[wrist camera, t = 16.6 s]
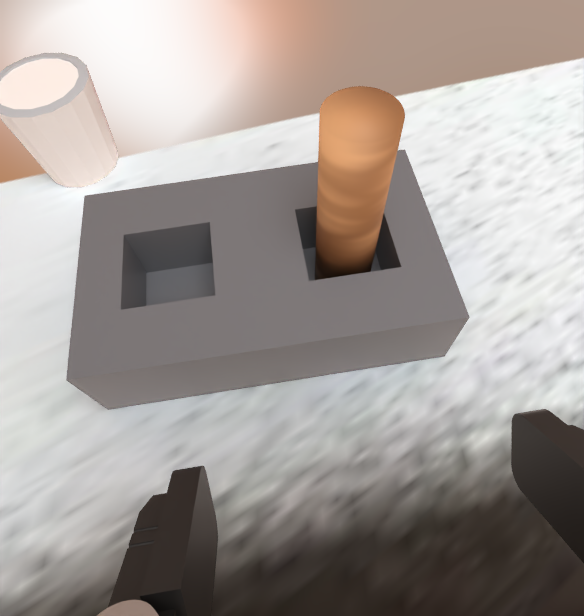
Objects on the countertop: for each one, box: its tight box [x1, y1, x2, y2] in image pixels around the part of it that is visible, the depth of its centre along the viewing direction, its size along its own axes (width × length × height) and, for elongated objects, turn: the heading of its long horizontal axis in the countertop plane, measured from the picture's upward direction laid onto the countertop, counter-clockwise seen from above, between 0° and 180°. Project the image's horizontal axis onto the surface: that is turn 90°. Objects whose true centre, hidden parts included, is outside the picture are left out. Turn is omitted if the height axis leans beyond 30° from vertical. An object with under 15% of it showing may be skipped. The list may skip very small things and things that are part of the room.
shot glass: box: [0, 53, 119, 187], centre depth 33 cm, size 7×7×7 cm
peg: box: [315, 86, 405, 280], centre depth 23 cm, size 3×3×12 cm
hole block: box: [67, 150, 469, 409], centre depth 27 cm, size 20×12×5 cm, turn 98°
